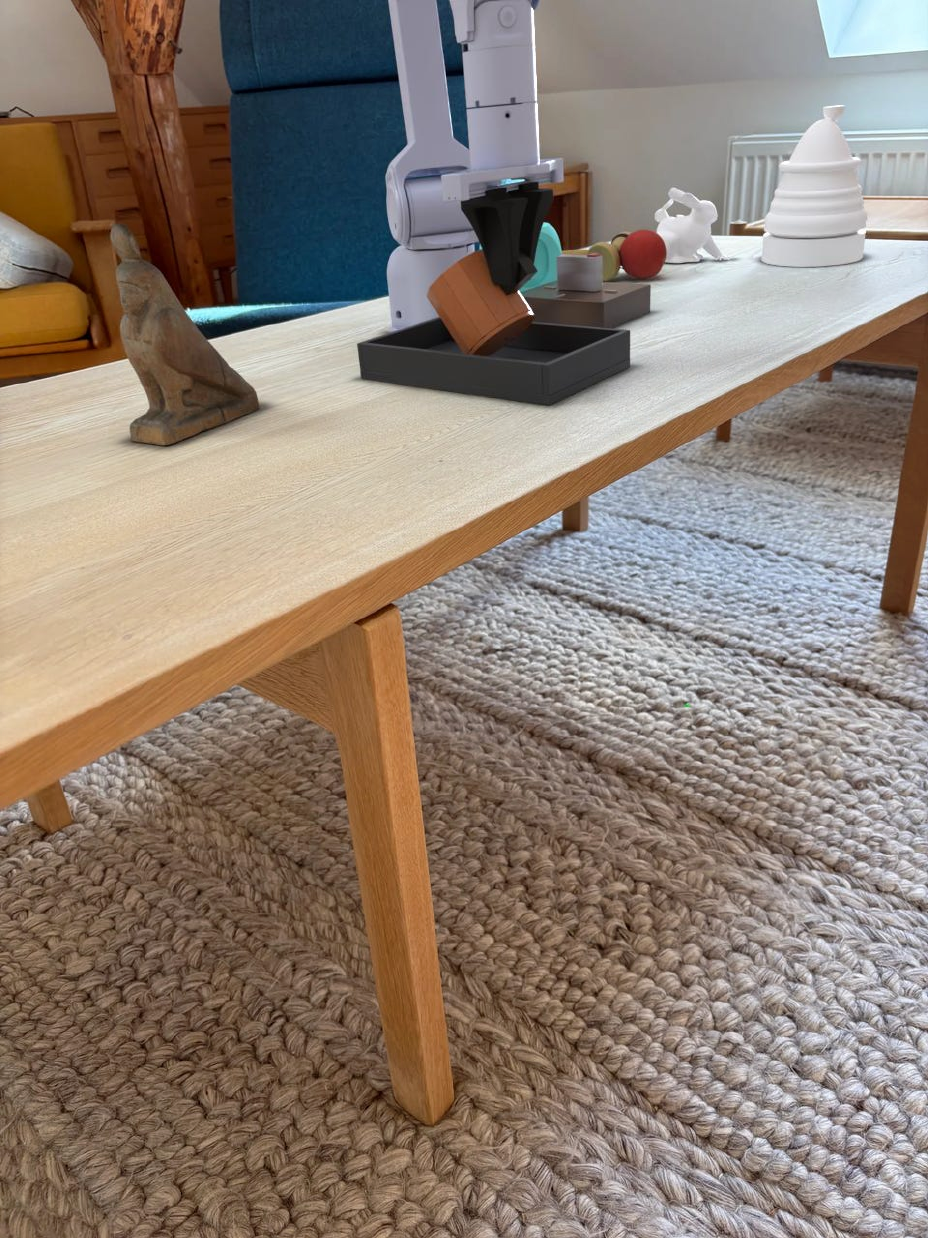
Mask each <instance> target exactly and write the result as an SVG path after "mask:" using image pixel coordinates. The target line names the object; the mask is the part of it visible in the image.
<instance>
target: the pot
mask: <svg viewBox="0 0 928 1238" xmlns="http://www.w3.org/2000/svg"><path fill="white" fill-rule="evenodd" d="M537 272H538V270H537V269H536V267H535V266H534V264H533V263H532V261H531V260H530V258H529V256H528V255H527V253H526V252H525V250H524V249H523V248H520V249H519V264H518V277H517V283H516V284H515V285H493V282H492V279H491V275H490V272H489V269H488V265H487V262H486V259H485V256H484V253H483V250H482V249H481V250H479V249H478V250H477V249H476V250H475V251H474V252H473V253H471V254H469V255H467V256H465V257H464V258H462V259H460V260H459V261H457V262H456V263H455V264H453V265H452V266H451V267H450V268H448V269H447V270H446V271H444V272H443V273H442V274H441V275H440V276H439V277H438V278H437V279H436V281H435V282H434V283H433V284H432V285H431V286H430V288H429V290H428V293H427V298H428V300H429V301H430V303H431V304H432V306H433V307H434V309H435V311H436V312H437V314H438V315H439V317H440V318H441V320H442V321H443V323H444V324H445V326H446V327H447V329H448V330H449V332H450V334H451V335H452V337H453V338H454V340H455V341H456V343H457V344H458V346H459V347H460V349H461V350H462V352H463V354H471V355H480V356H490V355H492V354H494V353H495V352H497V351H498V350H500V349H502V348H503V347H505V346H506V345H507V344H509V343H510V342H511V341H513V340H514V339H515V338H517V337H518V336H519V335H520V334H521V333H522V332H523V331H525V330H526V329H527V328H528V326H529V325H530V324H531V323H532V322H533V320H534V318H535V316H534V314H533V311H532V310H531V308H530V307H529V305H528V304H527V302H526V301H525V299H524V297H523V296H522V294H521V293H520V291H519V290H520V289H521V288H522V287H523V286H524V285H525V284H526V283H527V282H528V281H529V280H530V279H531V278H532V277H533V276H534V275H535V274H536V273H537Z"/></svg>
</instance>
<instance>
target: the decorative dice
mask: <svg viewBox="0 0 928 1238" xmlns="http://www.w3.org/2000/svg"><path fill="white" fill-rule="evenodd" d="M481 249H482V247H481V245H480V244H479V248H478V250H481ZM562 251H563V250H562V246H561V241H560V238H559V235H558V233H557V232H556V230H555V228H554V227H553V226H552V225H551V224H550V223H549V222H545V221H544V223H543V226H542V229H541V232H540V236H539V240H538V245H537V249H536V255H535V260H534V266H535V267H536V269H537V270H538V272H537V273H536V274H535V275H534V276H533V277H532V278H531V280H529V281H528V282H527V283H526V284H525V285H524V286H523V287H522V288H521V289H520V290H519V291H520V292H523V291H526V290H529V289H532V288H535V287H538V286H541V285H544V284H547V283H550V282H553V281H556V280H557V256H560V255H562Z"/></svg>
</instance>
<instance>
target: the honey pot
mask: <svg viewBox="0 0 928 1238" xmlns="http://www.w3.org/2000/svg"><path fill="white" fill-rule="evenodd" d="M845 106H846V105H830V106H823V107H822V113H823V118H822V119H821V118H820V119H819V120H817V121H815V122H813V123H812V124H811V125H810V126H809V127H808V129H806V131H805V132H804V133H803V135H802V136H801V138H800V140H799V141H798V143H797V144H796V146H795V148H794V150H793V151H792V154H791V156H790V157H789V159H788V160H786V161H782V162H781V163H779V165H778V169H779V171H780V172H783V173H782V176H781V178H780V181H779V184H778V186H777V188H776V189H775V190H774V193H773V194H774V197H773V199H772V201H771V202H770V205H769V206H770V209H769V211H768V212H767V213H766V215H765V217H764V221H763V224H764V227H763V231H764V233H763V235H762V248H761V262H762V263H764V264H766V265H772V266H778V267H791V268H813V267H815V268H816V267H817V268H818V267H831V266H839V265H841V266H842V265H847V264H851V263H856V262H858V261H861V260H863V258H864V250H865V242H866V233H867V232H866V230H865V228H867V221H868V212H867V211H866V209H865V208H864V203H865V201H864V198H863V196H862V191H863V188H862V185H860V181H859V177H858V173H857V168H858V167H860V166H861V165H862V160H861V159H860V158H859V157H853V155H852V152H851V148H850V146H849V144H848V142H847V141H848V140H847V139H846V137H845V135H844V133H843V131H842V130H841V128H840V127H839V125H837V122H838V121H839V120H840V119H841V118H842V116H843V114H844V111H845Z"/></svg>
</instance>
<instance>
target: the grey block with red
mask: <svg viewBox="0 0 928 1238" xmlns="http://www.w3.org/2000/svg"><path fill="white" fill-rule="evenodd" d="M603 282H604V281H603V256H600V253H591V254H588V255H569V254H563V255H560V256H557V289H558V290H574V291H590V292H597V291H600V290H602V289H603Z"/></svg>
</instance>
